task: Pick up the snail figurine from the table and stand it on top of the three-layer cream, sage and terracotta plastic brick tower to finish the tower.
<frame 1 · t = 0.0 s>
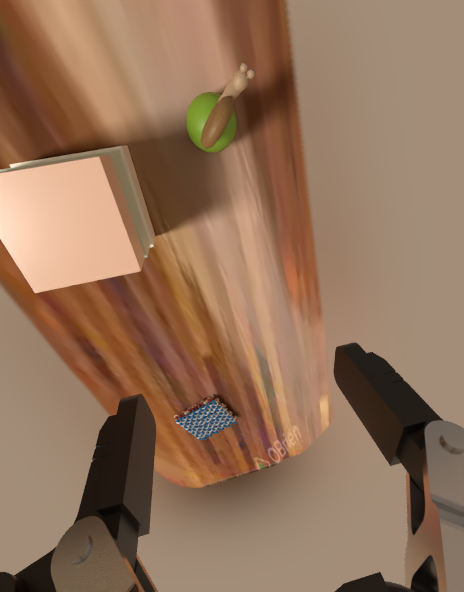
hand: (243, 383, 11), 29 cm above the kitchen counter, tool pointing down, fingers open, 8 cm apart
snail figurine: (210, 120, 31), on the kitchen counter
brick tower: (98, 202, 33), on the kitchen counter
woven mat: (205, 413, 58), on the kitchen counter
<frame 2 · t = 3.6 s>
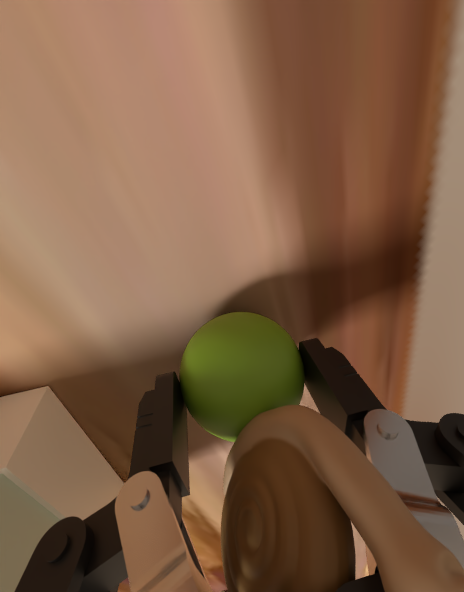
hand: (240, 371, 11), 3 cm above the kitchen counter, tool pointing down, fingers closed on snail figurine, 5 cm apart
snail figurine: (235, 325, 14), on the kitchen counter, touching gripper
brick tower: (1, 466, 16), on the kitchen counter
when the fingers open (16 cm above the kitchen counter, at t = 10.0 s): snail figurine stays where it is, resting on brick tower.
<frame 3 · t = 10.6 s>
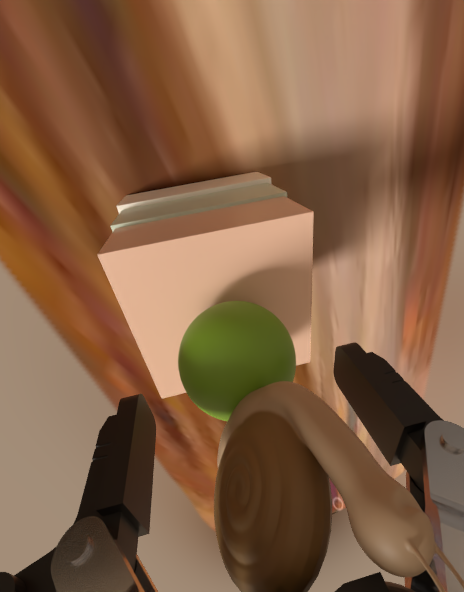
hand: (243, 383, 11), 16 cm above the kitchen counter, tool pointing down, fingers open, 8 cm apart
snail figurine: (231, 315, 15), point 12 cm above the kitchen counter, touching brick tower
brick tower: (205, 245, 25), on the kitchen counter
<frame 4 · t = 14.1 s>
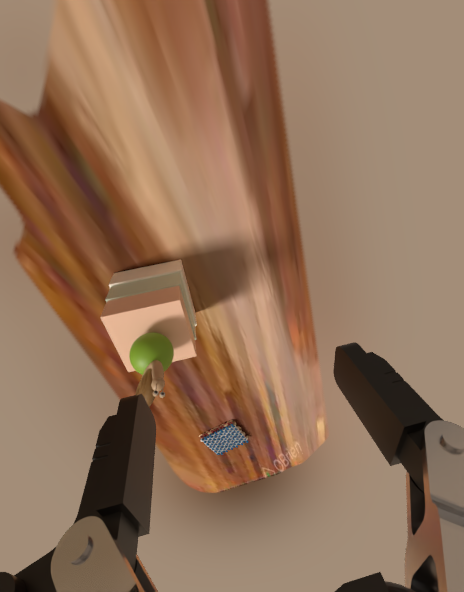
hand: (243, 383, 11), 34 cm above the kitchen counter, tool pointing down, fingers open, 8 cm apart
snail figurine: (155, 336, 36), point 12 cm above the kitchen counter, touching brick tower
brick tower: (157, 294, 46), on the kitchen counter
woven mat: (223, 433, 72), on the kitchen counter
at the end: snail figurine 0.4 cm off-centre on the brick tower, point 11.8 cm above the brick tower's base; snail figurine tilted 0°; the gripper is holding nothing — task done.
